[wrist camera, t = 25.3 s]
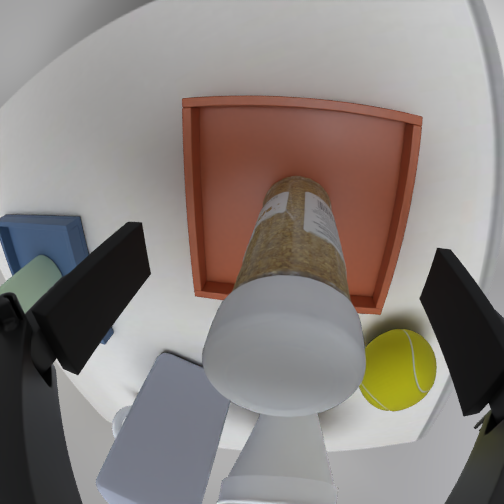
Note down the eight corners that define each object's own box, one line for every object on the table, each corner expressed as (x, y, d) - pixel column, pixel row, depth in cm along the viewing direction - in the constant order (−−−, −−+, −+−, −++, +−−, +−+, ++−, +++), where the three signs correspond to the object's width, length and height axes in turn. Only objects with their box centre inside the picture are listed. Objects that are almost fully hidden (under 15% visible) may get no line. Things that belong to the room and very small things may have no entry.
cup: (303, 440, 35) (294, 523, 23) (226, 416, 34) (200, 505, 22) (360, 405, 29) (362, 509, 17) (269, 373, 28) (246, 496, 16)
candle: (57, 298, 28) (16, 341, 21) (31, 267, 27) (-13, 306, 20) (70, 280, 26) (22, 328, 19) (42, 246, 25) (-10, 287, 18)
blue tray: (6, 214, 25) (-6, 221, 23) (80, 216, 23) (65, 225, 21) (38, 308, 31) (30, 317, 30) (113, 332, 29) (105, 345, 28)
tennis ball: (404, 299, 21) (427, 362, 15) (434, 340, 23) (454, 397, 17) (339, 342, 24) (343, 406, 18) (377, 374, 26) (384, 431, 20)
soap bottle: (239, 377, 29) (176, 596, 7) (216, 410, 33) (163, 578, 12) (161, 345, 29) (61, 552, 7) (152, 383, 33) (79, 545, 11)
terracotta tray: (194, 98, 17) (181, 98, 15) (410, 115, 15) (423, 116, 13) (202, 281, 24) (194, 296, 22) (375, 298, 22) (380, 314, 20)
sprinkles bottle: (256, 181, 18) (171, 324, 7) (326, 169, 17) (372, 309, 5) (271, 244, 20) (225, 420, 9) (336, 235, 19) (363, 417, 7)
